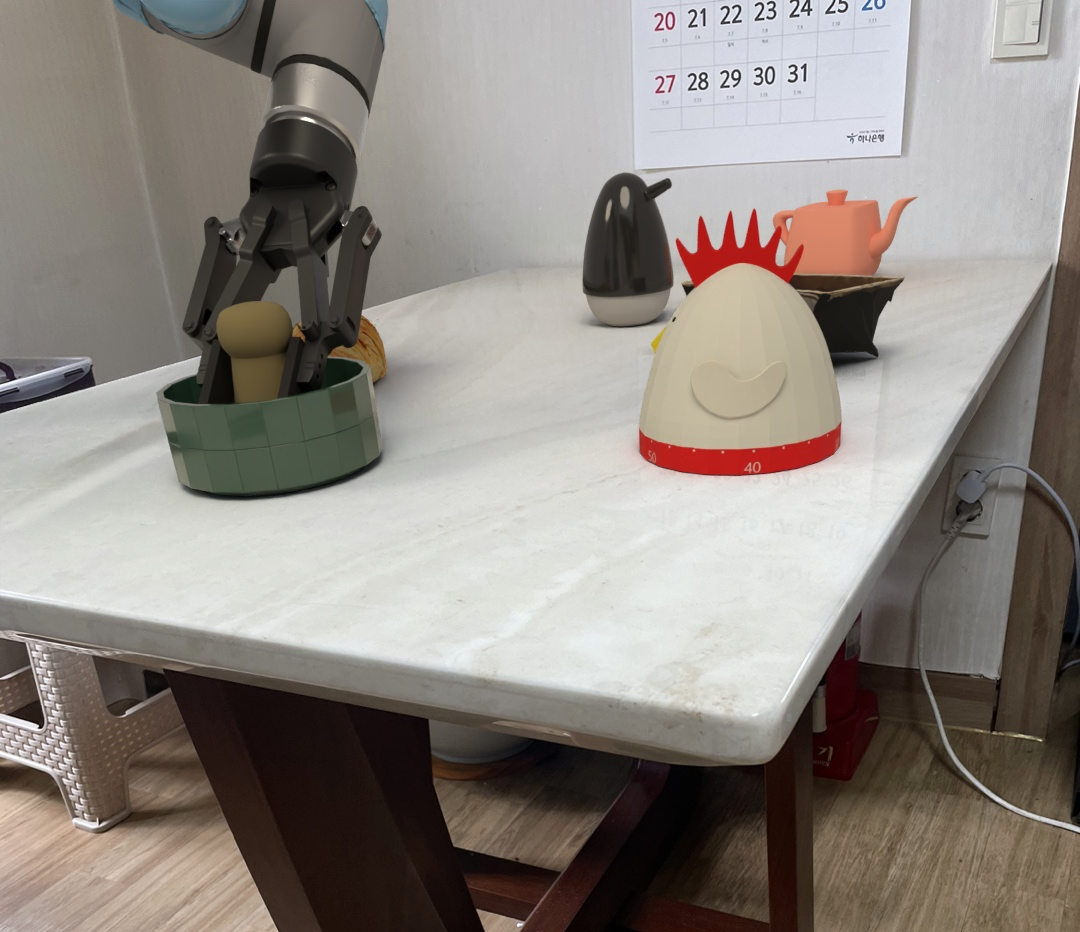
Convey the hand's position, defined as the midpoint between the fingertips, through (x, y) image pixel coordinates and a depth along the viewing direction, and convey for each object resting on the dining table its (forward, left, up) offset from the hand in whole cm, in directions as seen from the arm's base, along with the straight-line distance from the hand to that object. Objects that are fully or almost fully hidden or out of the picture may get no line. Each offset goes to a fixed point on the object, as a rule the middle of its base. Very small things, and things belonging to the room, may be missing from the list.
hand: (247, 430), depth 73 cm
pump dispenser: (+15, +59, -4) cm, 61 cm away
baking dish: (+34, +36, -4) cm, 49 cm away
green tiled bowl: (0, +4, -4) cm, 5 cm away
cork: (0, +4, -3) cm, 5 cm away
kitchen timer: (+33, +10, -4) cm, 35 cm away
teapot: (+37, +82, -4) cm, 90 cm away
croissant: (-9, +32, -4) cm, 33 cm away
